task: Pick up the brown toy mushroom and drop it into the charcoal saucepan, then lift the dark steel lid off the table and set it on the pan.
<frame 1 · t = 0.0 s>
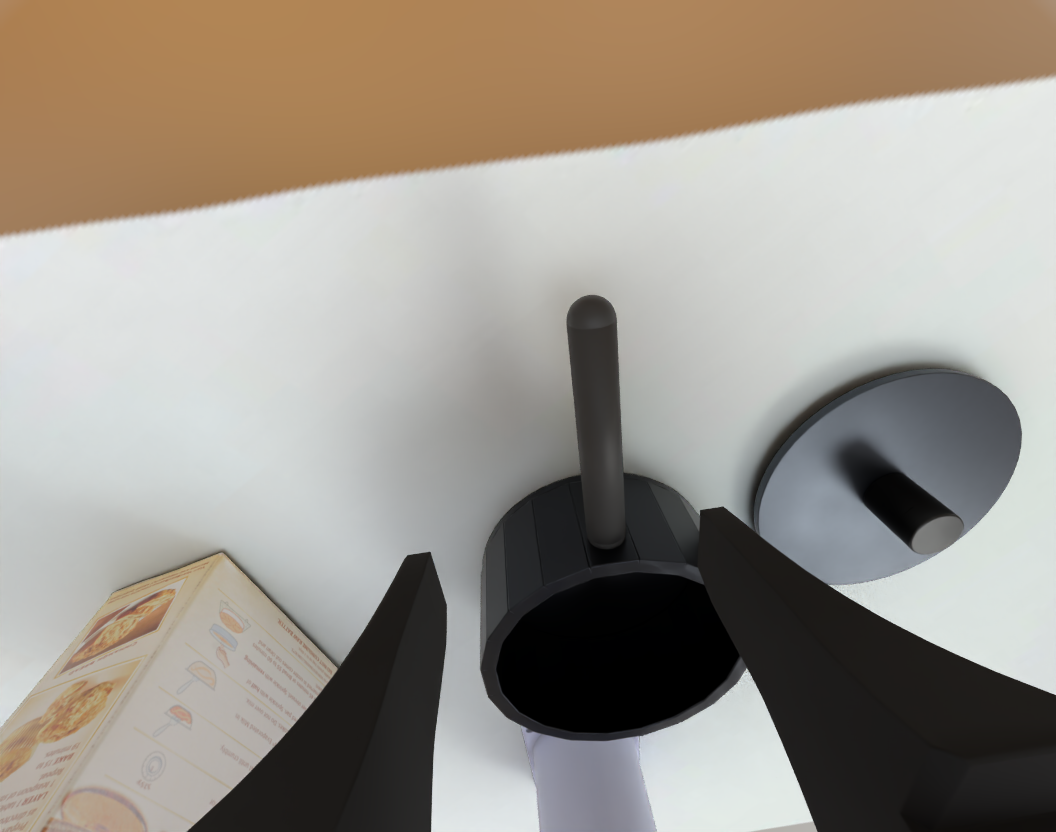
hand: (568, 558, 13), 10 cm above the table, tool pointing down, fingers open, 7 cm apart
pan: (594, 563, 27), on the table
pan handle: (599, 438, 18), point 4 cm above the table
coffeecake box: (259, 650, 29), on the table
lid: (879, 486, 25), point 1 cm above the table
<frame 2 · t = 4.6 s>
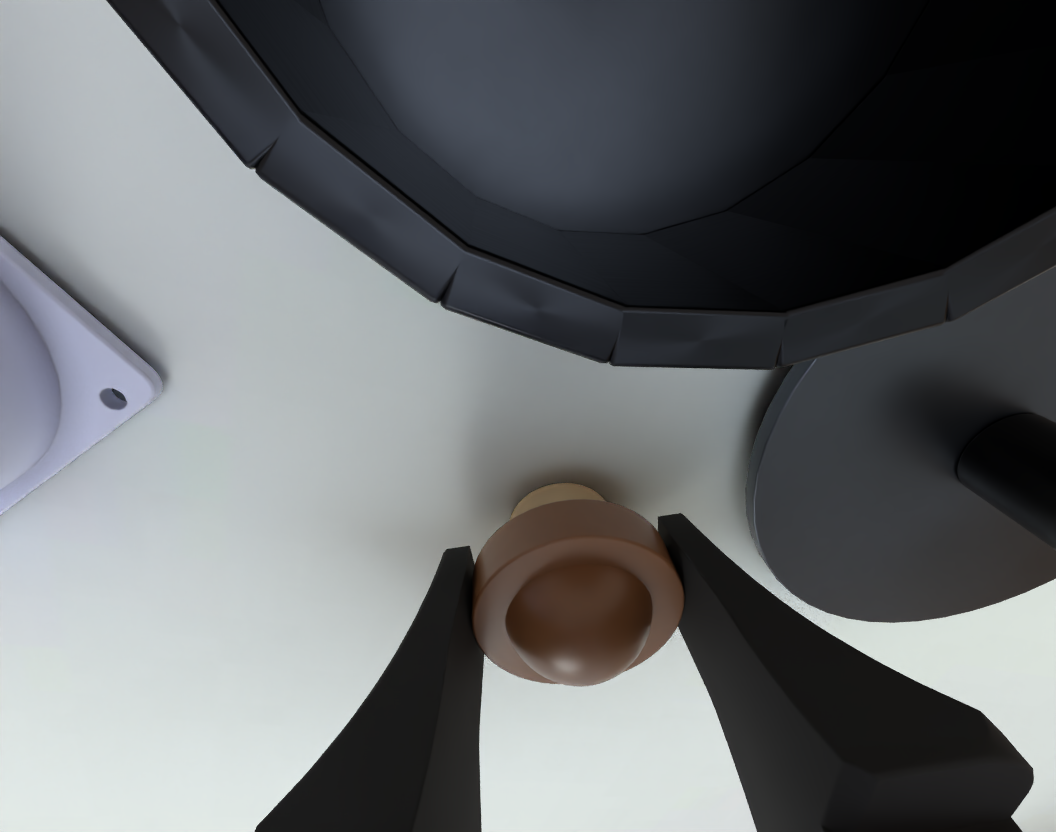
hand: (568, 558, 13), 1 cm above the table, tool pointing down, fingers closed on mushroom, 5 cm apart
mushroom: (560, 523, 14), on the table, touching gripper
lid: (984, 442, 13), point 1 cm above the table
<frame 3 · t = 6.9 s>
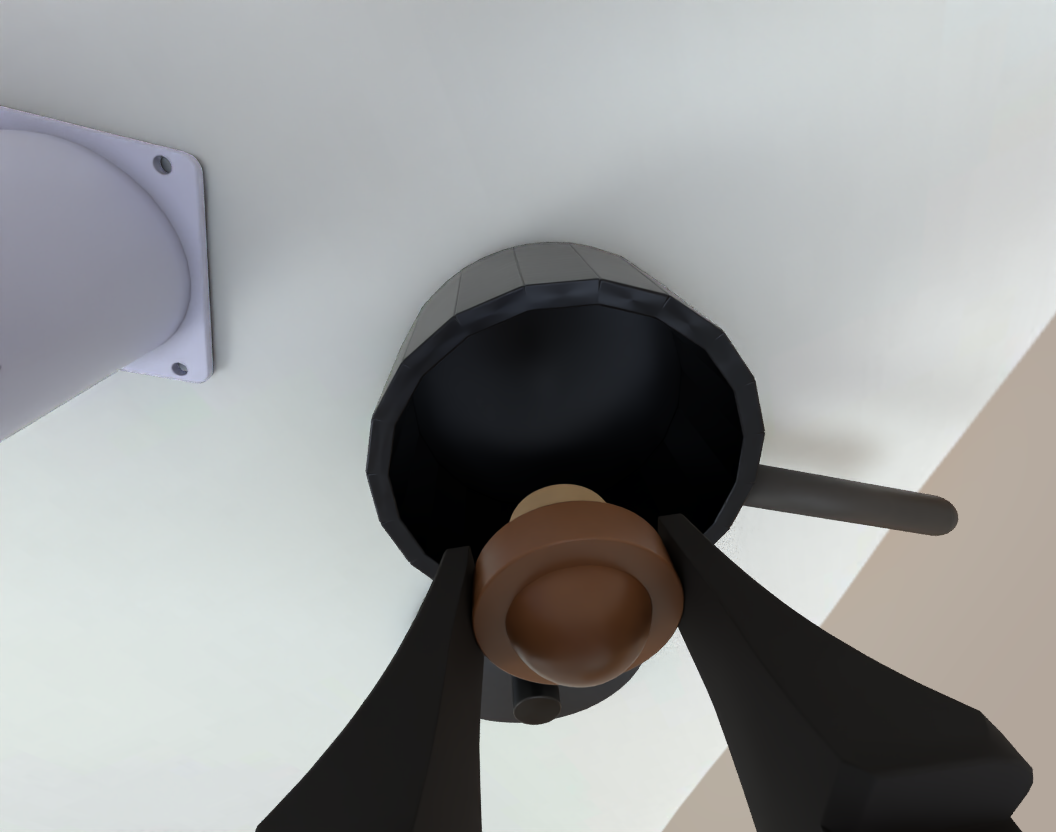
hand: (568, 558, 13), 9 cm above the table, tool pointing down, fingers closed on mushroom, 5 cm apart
pan: (547, 395, 21), on the table
mushroom: (560, 524, 14), point 8 cm above the table, touching gripper
pan handle: (836, 499, 19), point 4 cm above the table
lid: (531, 645, 27), point 1 cm above the table
when the fingers open (2 cm above the table, at t = 9.3 s): mushroom stays where it is, resting on pan.
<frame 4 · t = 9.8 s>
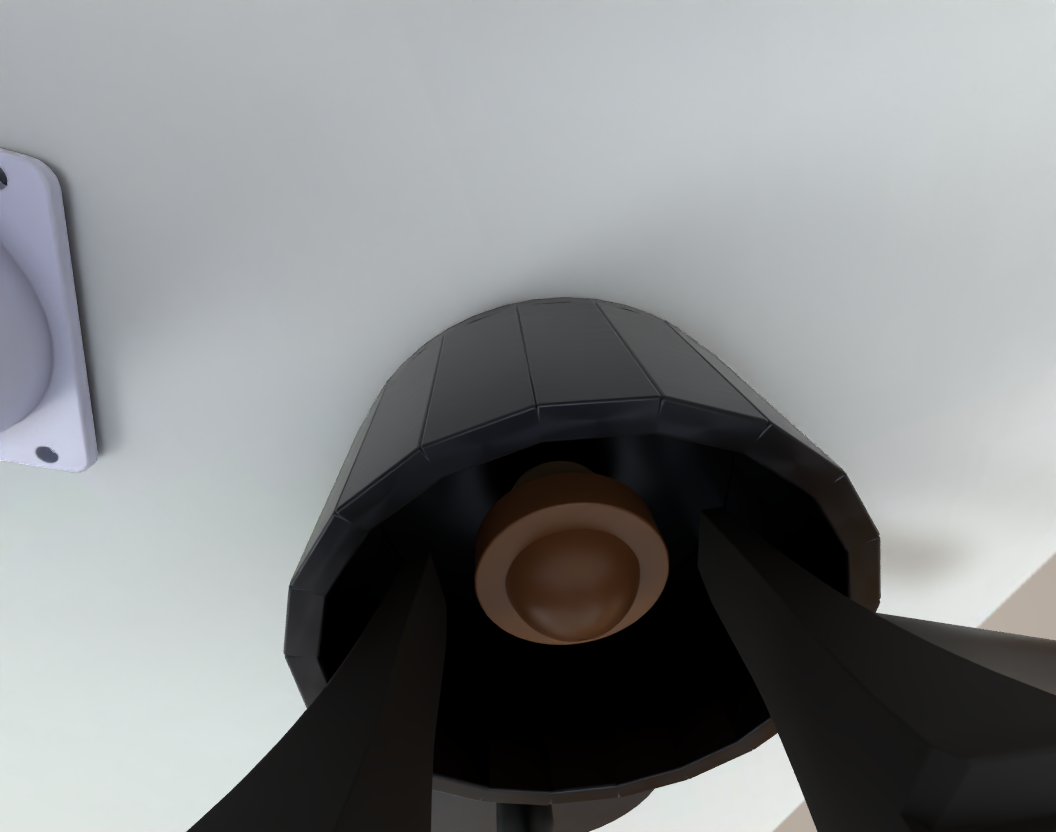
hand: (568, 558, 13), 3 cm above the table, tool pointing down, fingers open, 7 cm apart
pan: (555, 488, 16), on the table
mushroom: (556, 499, 15), resting on pan
pan handle: (941, 652, 14), point 4 cm above the table
lid: (521, 767, 22), point 1 cm above the table
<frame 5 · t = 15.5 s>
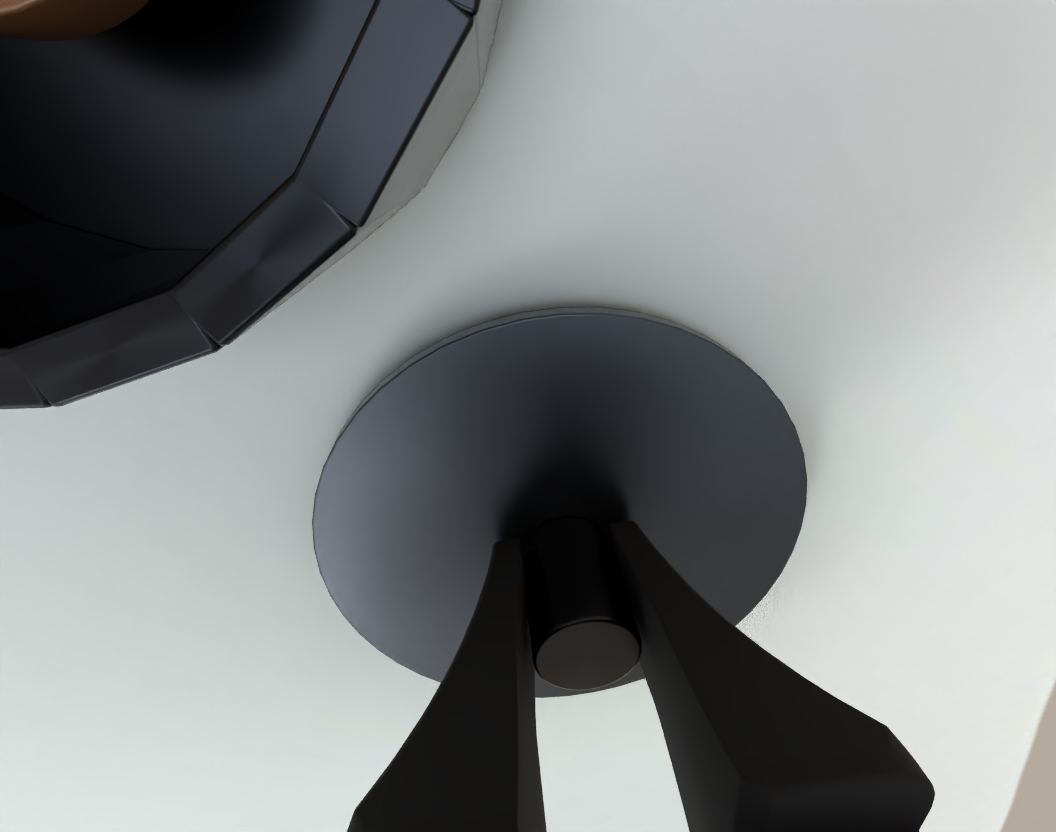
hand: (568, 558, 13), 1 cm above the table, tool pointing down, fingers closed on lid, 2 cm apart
lid: (563, 537, 14), point 1 cm above the table, touching gripper
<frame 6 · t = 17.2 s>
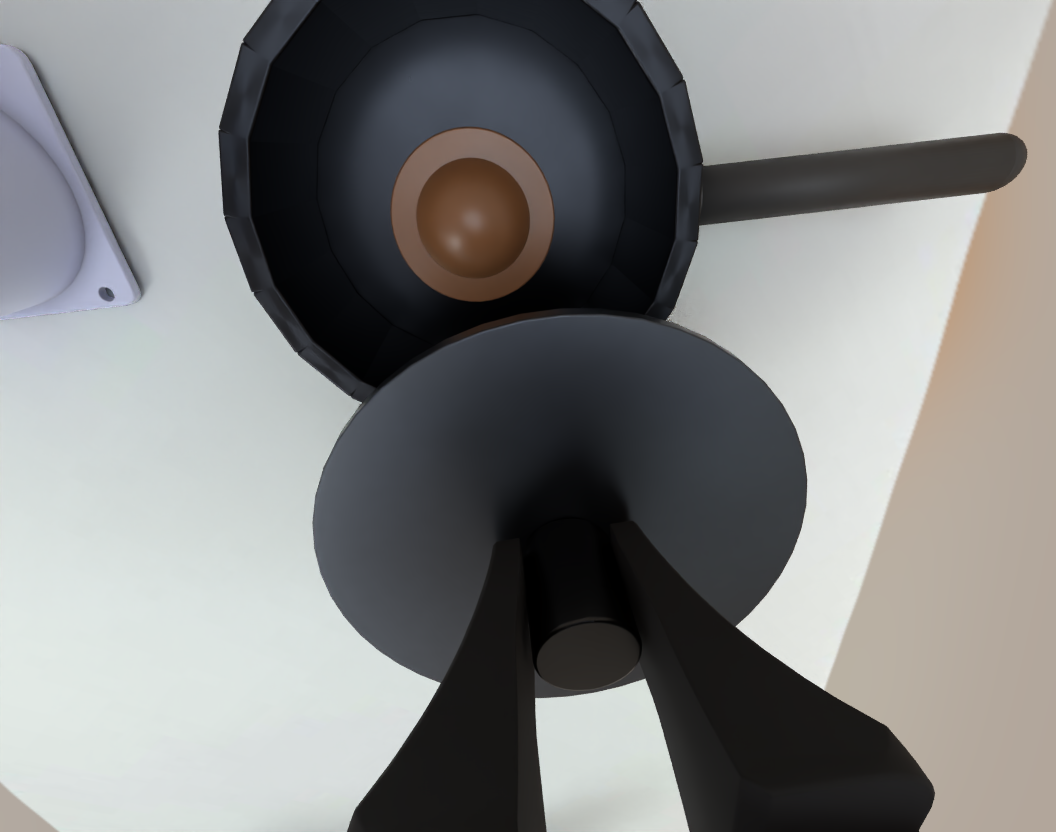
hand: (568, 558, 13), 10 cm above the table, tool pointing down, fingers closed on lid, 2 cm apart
pan: (475, 206, 18), on the table
mushroom: (475, 209, 18), resting on pan
pan handle: (841, 180, 15), point 4 cm above the table
lid: (563, 538, 14), point 10 cm above the table, touching gripper
when the fingers open (7 cm above the table, at t = 19.3 s): lid stays where it is, resting on pan.
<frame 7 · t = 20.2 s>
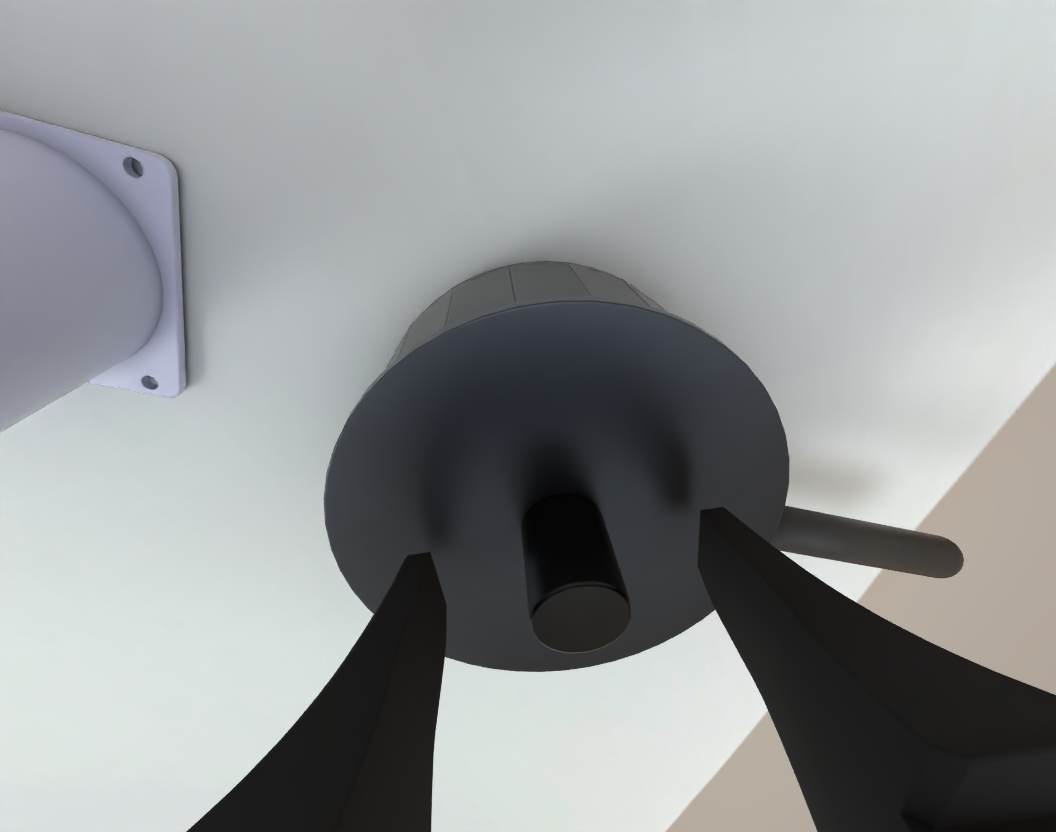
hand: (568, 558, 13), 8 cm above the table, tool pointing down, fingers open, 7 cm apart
pan: (540, 418, 20), on the table
pan handle: (838, 538, 18), point 4 cm above the table
lid: (560, 516, 15), point 6 cm above the table, touching pan
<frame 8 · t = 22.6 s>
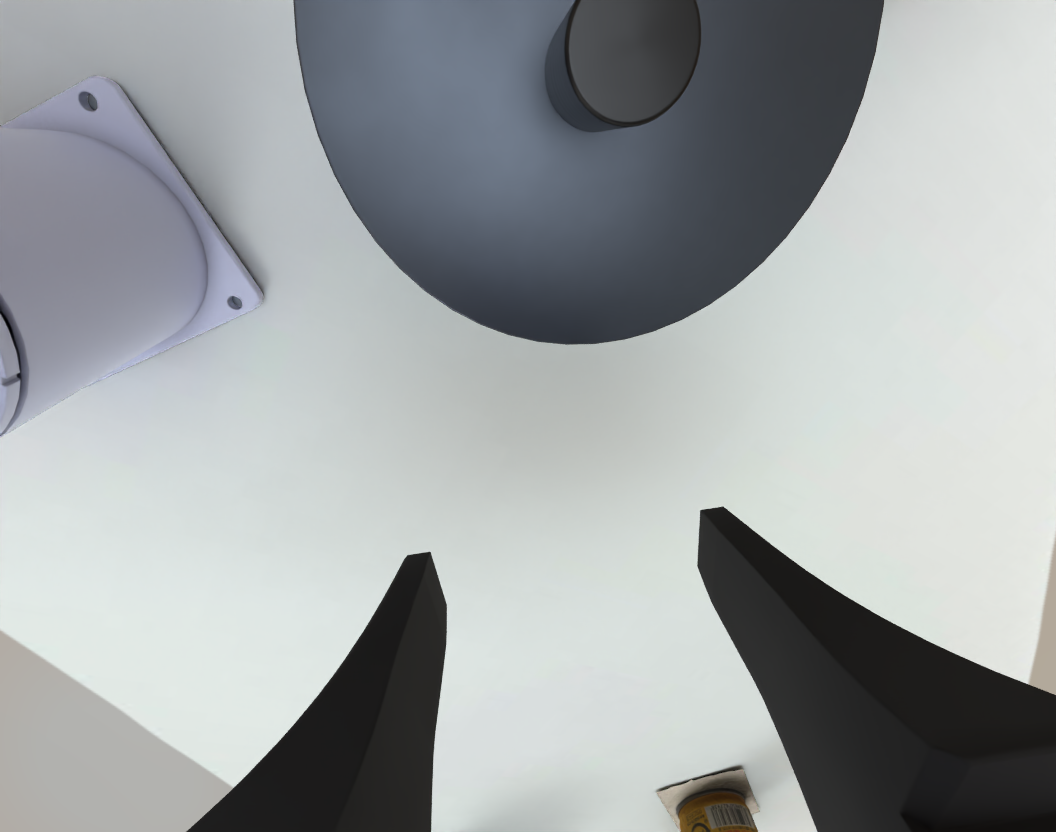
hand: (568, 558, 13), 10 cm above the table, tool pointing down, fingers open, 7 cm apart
condiment: (707, 796, 42), on the table
lid: (592, 74, 12), point 6 cm above the table, touching pan
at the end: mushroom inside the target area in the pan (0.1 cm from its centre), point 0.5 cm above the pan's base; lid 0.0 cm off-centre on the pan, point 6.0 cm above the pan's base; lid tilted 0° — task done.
